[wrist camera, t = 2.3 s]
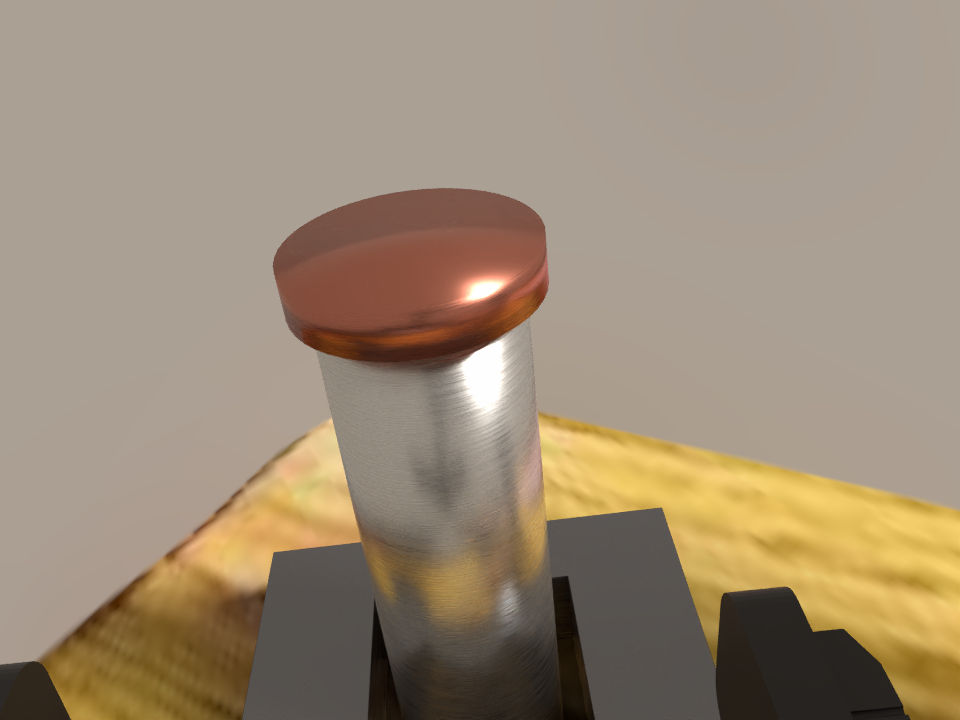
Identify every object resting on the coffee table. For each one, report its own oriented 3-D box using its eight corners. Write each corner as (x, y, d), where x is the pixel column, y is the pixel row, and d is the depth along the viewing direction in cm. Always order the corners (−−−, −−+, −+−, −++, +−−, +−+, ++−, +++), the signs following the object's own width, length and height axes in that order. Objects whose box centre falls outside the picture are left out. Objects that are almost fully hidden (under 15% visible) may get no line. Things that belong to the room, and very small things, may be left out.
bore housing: (661, 567, 34) (661, 507, 33) (762, 895, 24) (769, 831, 23) (291, 610, 35) (273, 552, 33) (238, 954, 24) (209, 894, 23)
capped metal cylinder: (566, 643, 32) (530, 176, 23) (594, 806, 27) (562, 289, 18) (395, 663, 32) (290, 204, 23) (390, 829, 27) (253, 325, 18)
